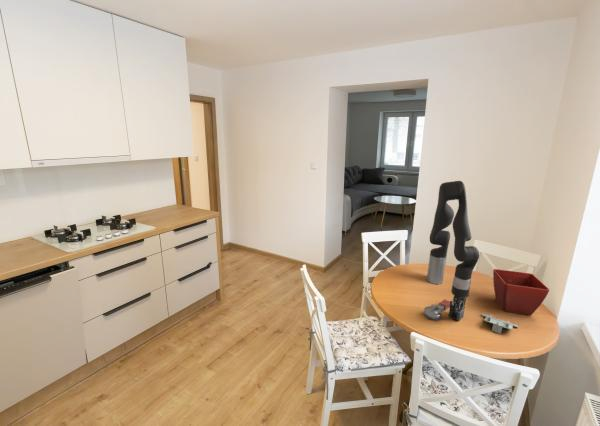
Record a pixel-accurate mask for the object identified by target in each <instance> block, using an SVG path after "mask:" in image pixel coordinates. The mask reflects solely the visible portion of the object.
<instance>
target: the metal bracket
mask: <svg viewBox="0 0 600 426" xmlns="http://www.w3.org/2000/svg"><path fill="white" fill-rule="evenodd" d="M481 317H485V318H484V322H487V323H490V324H492V328H491V331H492V332H495V333H498V334H499V335H501V334H502V331H503V328H505V329H508V330H511V331H513V328H514V327H515V328H519V326H518V325H517V324H513V323H511V322H510V321H511V320H508V321H505V320H502V319H499V318H497V317H493V315H492V314H490V315H487V314H484V313H482V314H481Z"/></svg>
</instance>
